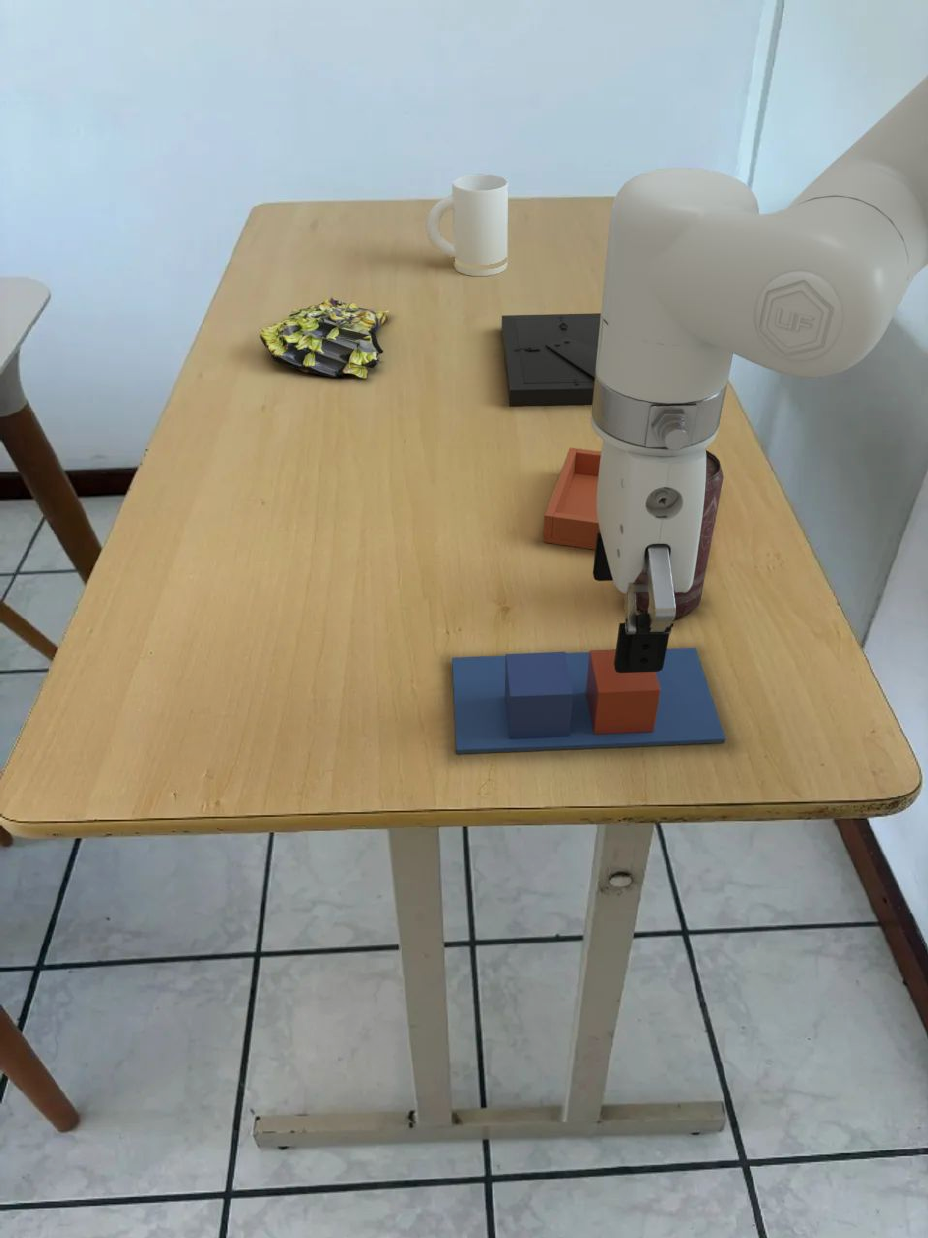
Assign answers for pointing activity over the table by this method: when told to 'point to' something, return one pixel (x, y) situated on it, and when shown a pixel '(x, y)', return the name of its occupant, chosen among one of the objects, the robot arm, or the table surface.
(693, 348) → the robot arm
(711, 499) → the can
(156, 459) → the table surface
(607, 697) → the terracotta block
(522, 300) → the table surface
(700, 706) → the blue mat
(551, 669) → the blue block
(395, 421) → the table surface
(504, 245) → the mug
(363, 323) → the banana patterned fabric
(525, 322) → the picture frame
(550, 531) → the terracotta tray
